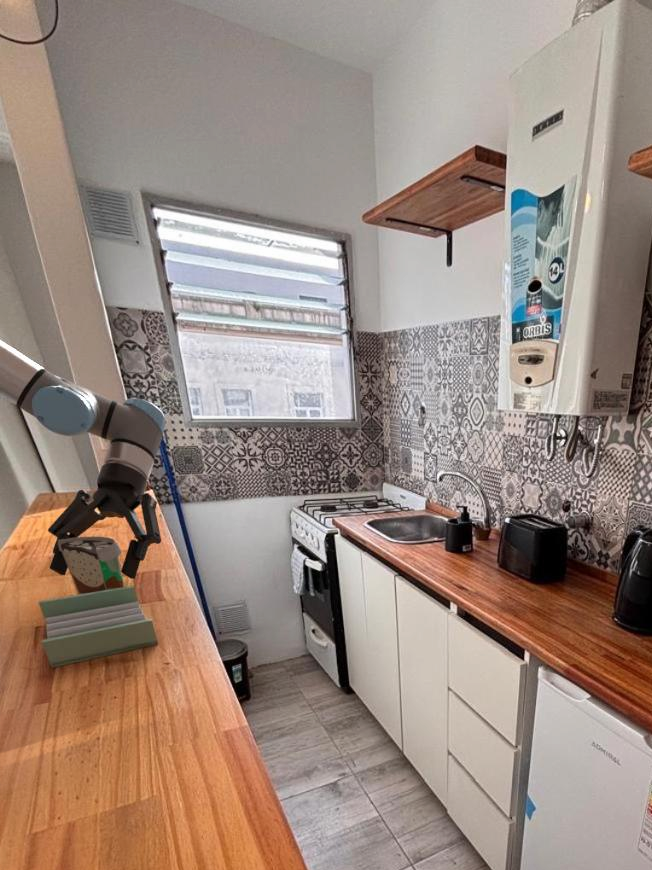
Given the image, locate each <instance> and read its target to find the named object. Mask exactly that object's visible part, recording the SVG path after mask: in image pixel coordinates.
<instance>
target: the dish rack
mask: <svg viewBox="0 0 652 870" xmlns="http://www.w3.org/2000/svg"><path fill="white" fill-rule="evenodd" d="M138 598H139V597H138V595H137V591H136V588H135V586H134V585H129V586H124V587H122V588H116V589H109V590H103V591H97V592H91V593H85V594H73V595H67V596H61V597H54V598H49V599H43V600H38V605H39V609H40V611H41V613H42V616H43V618H44V621H45V628H46V630H45V631H46V638H45V639H41V644H42V647H43V649H44V651H45V654H46V657H47V659H48V662H49V665H50V667H51V668H52V669H54V668H58V667H59V668H60V667H63V666H67V665H72V664H76V663H80V662H85V661H90V660H95V659H98V658H102V657H107V656H111V655H112V656H113V655H116V654H121V653H125V652H130V651H134V650H139V649H143V648H148V647H152V646H156V645H159V641H158V637H157V634H156V629H155V627H154V621H153V619H152V618H147V617H146V615H145V613H144V611H143V609H142V607H141V605H140V603H139V599H138ZM74 662H75V663H74ZM69 663H70V664H69Z"/></svg>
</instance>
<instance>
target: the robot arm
mask: <svg viewBox="0 0 652 870" xmlns="http://www.w3.org/2000/svg"><path fill="white" fill-rule="evenodd" d="M0 397H2V398H4V399H5V400H7V401H8V402H10V403H12V404H14V405H15V406H17V407H18V408H19V409H22V410H23V411H24V412H26V413H28V414H29V415H30V416H33V417H34V418H35V419H36V420H37V421H38V422H39V423H40V424H41V425H42V426H43V427H44V428H45V429H47V430H48V431H50V432H52V433H54V434H57V435H60V436H65V437H66V436H67V437H71V436H72V437H74V436H75V437H76V436H77V437H79V436H81V435H84V434H86V433H88V434H91V435H93V436H96V437H99V438H101V439H103V440H107V441H109V445H108V448H107V450H106V454H105V456H104V459H103V462H102V463H103V464H102V465H101V467H100V471H99V473H98V476H97V479H96V482H97V489H96V491H95V492H93V493H90V492H86V491H85V490H83V489H80V490H78V491H77V493H76V495H75V496H74V497H75V498H74V499H73V501H71V503H70V504H69V505H68V506H67V507H66V508H65V509H64V511H62V513H61V514H60V515H59V516H58V517H57V518H56V519H55V520H54V522H52V524H51V525H50V526H49V527H48V528H47V532H48V533H49V534H51V535H52V536H54V537H56V540H55V543H54V546H53V549H52V553H53V557H52V559H51V562H50V565H49V570H51V571H53V572H55V573H57V574H58V575H60V576H66V573H67V571H68V566H67V564H66V561H65V559H64V556H63V554H62V551H59V546H58V544H59V543H58V540H62V539H68V538H77V537H81V535H83V534H84V533H85V532H86V531H87V530H89V529H90V528H91V527H93V526H94V525H95V524H96V523H98V522H99V521H104V520H105V519H106V518H108V519H109V518H110V519H111V518H118V519H124V518H125V520H126V522H127V524H128V525H129V528H130V530H131V531H132V533H133V534H134V535H133V537H134V538H135V539H130V541H129V545H128V547H127V550H126V554H125V558H124V561H123V563H122V567H121V573H122V575H125V576H126V577H128V578H129V579H131V580H134V579H136V576H137V573H138V570H139V566H140V562H143V561H144V560H145V559H146V555H147V552H148V548H149V547H150V546H151V545H152V544H156V545H159V544H161V543H162V535H161V532H160V526H159V522H158V517H157V512H156V509H157V504H158V501H157V500H156V499H155V498H154V497H153V496H152V495H151V494H150V493H148V492H146V490H147V486H148V481H149V480H150V476H151V473H152V470H153V466H154V463H155V460H156V457H157V454H158V452H159V448H160V446H161V442H162V440H163V437H164V431H165V429H166V417H165V414H164V413H163V411H162V410H161V409H160V408H159V407H158V406H156V405H155V404H154V403H152V402H150V401H149V400H147V399H142V398H141V399H139V398H137V397H130V398H127V399H126V400H124V402H123V403H120V402H119V401H115V400H112V399H110V398H108V397H106V396H103V395H101V394H99V393H97V392H94V391H93V390H90V389H88V388H86V387H84V386H82V385H79V384H77V383H75V382H73V381H72V380H69V379H66V378H62V377H60V376H57V375H55V374H53V373H51V372H50V371H48V370H47V369H45V368H44V367H43V366H40V364H38V363H36V362H34V361H33V360H31V359H30V358H29V357H27V355H24V354H23V353H21V352H20V351H18V350H17V349H15V348H13V347H12V346H10V345H9V344H7V343H6V342H4V341H3V340H1V339H0ZM140 506H141V512H142V518H143V523H144V527H143V525H142V523H141V522H140V520H139V516H138V515H137V513H136V511H135V510H136V509H137V508H138V507H140ZM96 509H97V510H96ZM144 528H145V529H144Z"/></svg>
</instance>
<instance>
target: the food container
mask: <svg viewBox="0 0 652 870" xmlns="http://www.w3.org/2000/svg"><path fill="white" fill-rule="evenodd" d="M58 543H59V544H58V546H59V551H62V554H63V556H64V559H65V561H66V564H67V566H68V568H67V570H68V572H69V574H70V577H71V578H72V582H73V584H74V586H75V589H76V592H77V595H79V594H85V593H91V592H97V591H103V590H109V589H116V588H122V587H125V584H124V579H123V573H122V572H121V570H122V567H121V562H120V558H119V556H120V555H122V553H123V552H122V549H121V548H120V546H119V544H118V543H117V542H116V541H115V539H113V538H111V537H106V536H78V537H77V538H68V539H62V540H58Z"/></svg>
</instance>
